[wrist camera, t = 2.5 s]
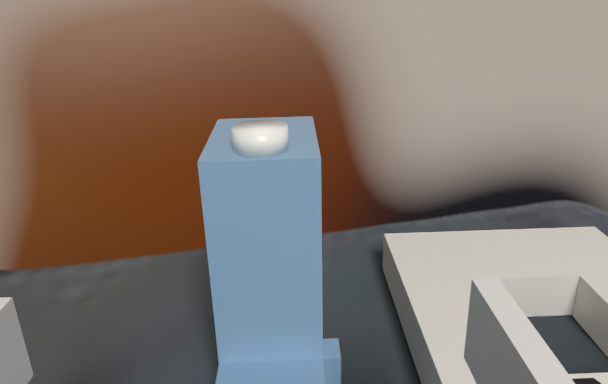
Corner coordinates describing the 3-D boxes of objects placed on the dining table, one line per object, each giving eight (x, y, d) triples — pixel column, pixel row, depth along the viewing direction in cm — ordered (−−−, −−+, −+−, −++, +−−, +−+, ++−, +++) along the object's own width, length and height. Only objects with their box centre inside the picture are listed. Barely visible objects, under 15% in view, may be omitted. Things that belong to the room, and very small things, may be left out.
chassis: (382, 268, 40) (383, 233, 39) (587, 261, 40) (594, 226, 39) (483, 567, 20) (492, 513, 18) (895, 547, 20) (928, 493, 19)
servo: (239, 316, 35) (221, 92, 29) (329, 313, 35) (328, 89, 29) (220, 457, 24) (186, 153, 19) (347, 451, 25) (351, 148, 19)
